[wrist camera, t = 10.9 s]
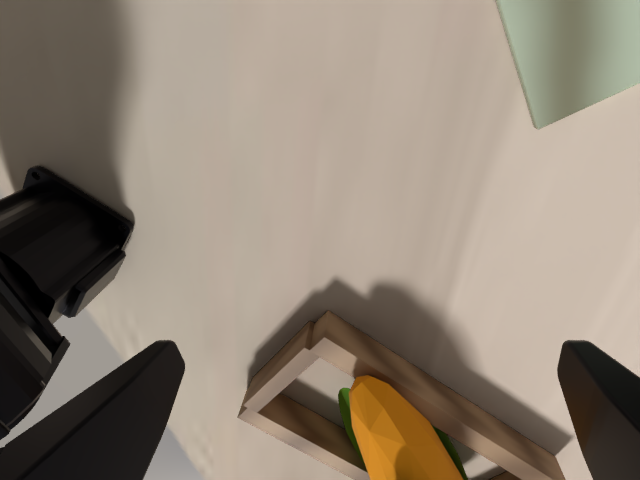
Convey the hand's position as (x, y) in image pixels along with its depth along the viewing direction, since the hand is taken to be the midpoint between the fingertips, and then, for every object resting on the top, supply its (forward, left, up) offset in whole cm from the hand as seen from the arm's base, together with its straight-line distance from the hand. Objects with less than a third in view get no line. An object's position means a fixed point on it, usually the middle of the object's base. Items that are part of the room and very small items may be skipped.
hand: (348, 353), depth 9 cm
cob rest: (+16, -14, -13) cm, 25 cm away
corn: (+16, -14, -13) cm, 25 cm away
